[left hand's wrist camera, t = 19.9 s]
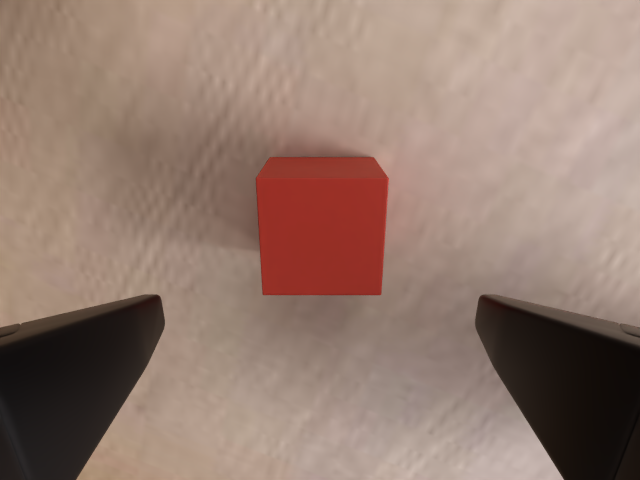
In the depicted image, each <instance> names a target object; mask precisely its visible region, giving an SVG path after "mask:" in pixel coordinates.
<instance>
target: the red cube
mask: <svg viewBox="0 0 640 480" xmlns="http://www.w3.org/2000/svg"><path fill="white" fill-rule="evenodd" d="M388 182H389V178H388V177H387V175H386V174H385V173H384V171H383V170H382V168H381V167H380V166H379V164H378V163H377V161H376V160H375V159H374V158H373V157H270V158H269V159H268V161H267V162H266V164H265V165H264V167H263V168H262V170H261V171H260V173H259V174H258V176H257V177H256V190H257V207H258V224H259V240H260V257H261V274H262V291H263V295H381V290H382V274H383V259H384V243H385V228H386V212H387V197H388Z"/></svg>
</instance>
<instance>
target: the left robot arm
mask: <svg viewBox="0 0 640 480" xmlns="http://www.w3.org/2000/svg"><path fill="white" fill-rule="evenodd" d="M164 326H165V319H164V313H163V307H162V301H161V298H160V296H159V295H141V296H137V297H132V298H128V299H124V300H119V301H115V302H111V303H107V304H102V305H98V306H94V307H89V308H85V309H81V310H77V311H72V312H68V313H64V314H59V315H55V316H51V317H46V318H42V319H38V320H34V321H29V322H25V323H22V324H21V325H20V324H14V325H10V326H5V327H1V328H0V480H76V479H77V477H78V476H79V474H80V472H81V471H82V469H83V468H84V466H85V464H86V463H87V461H88V460H89V458H90V456H91V455H92V453H93V452H94V450H95V448H96V447H97V445H98V444H99V442H100V440H101V439H102V437H103V436H104V434H105V432H106V431H107V429H108V428H109V426H110V424H111V423H112V421H113V420H114V418H115V416H116V415H117V413H118V412H119V410H120V409H121V407H122V405H123V404H124V402H125V401H126V399H127V397H128V396H129V394H130V393H131V391H132V389H133V388H134V386H135V385H136V383H137V381H138V380H139V378H140V377H141V375H142V373H143V372H144V370H145V368H146V367H147V365H148V363H149V361H150V358H151V356H152V354H153V352H154V350H155V348H156V345H157V343H158V341H159V339H160V337H161V334H162V332H163V330H164ZM475 326H476V330H477V332H478V334H479V337H480V339H481V341H482V343H483V345H484V348H485V350H486V352H487V354H488V356H489V358H490V361H491V363H492V365H493V367H494V368H495V370H496V372H497V373H498V375H499V377H500V378H501V380H502V381H503V383H504V385H505V386H506V388H507V389H508V391H509V393H510V394H511V396H512V397H513V399H514V400H515V402H516V404H517V405H518V407H519V408H520V410H521V412H522V413H523V415H524V416H525V418H526V420H527V421H528V423H529V424H530V426H531V428H532V429H533V431H534V432H535V434H536V436H537V437H538V439H539V440H540V442H541V444H542V445H543V447H544V448H545V450H546V452H547V453H548V455H549V456H550V458H551V460H552V461H553V463H554V464H555V466H556V468H557V469H558V471H559V472H560V474H561V476H562V477H563V479H564V480H640V328H639V327H635V326H630V325H626V324H620V325H619V324H618V323H615V322H611V321H607V320H602V319H598V318H594V317H589V316H585V315H581V314H576V313H572V312H568V311H564V310H559V309H555V308H551V307H546V306H542V305H538V304H533V303H529V302H525V301H521V300H516V299H512V298H508V297H503V296H499V295H481V296H480V298H479V301H478V307H477V313H476V319H475Z"/></svg>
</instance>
